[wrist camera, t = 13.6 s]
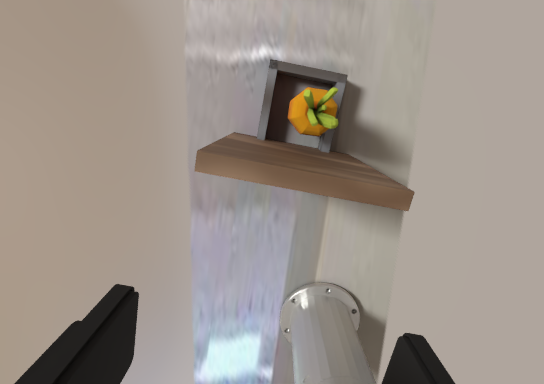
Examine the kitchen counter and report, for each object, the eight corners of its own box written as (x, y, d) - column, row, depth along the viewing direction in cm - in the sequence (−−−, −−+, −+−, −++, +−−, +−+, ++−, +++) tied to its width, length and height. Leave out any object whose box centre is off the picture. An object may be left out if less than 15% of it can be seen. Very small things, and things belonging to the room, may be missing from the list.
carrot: (278, 98, 39) (287, 89, 24) (314, 88, 39) (346, 73, 24) (287, 135, 40) (301, 148, 26) (322, 126, 40) (357, 133, 26)
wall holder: (345, 165, 41) (408, 211, 22) (232, 143, 41) (194, 171, 21) (366, 82, 38) (460, 53, 19) (245, 58, 38) (215, 1, 19)
